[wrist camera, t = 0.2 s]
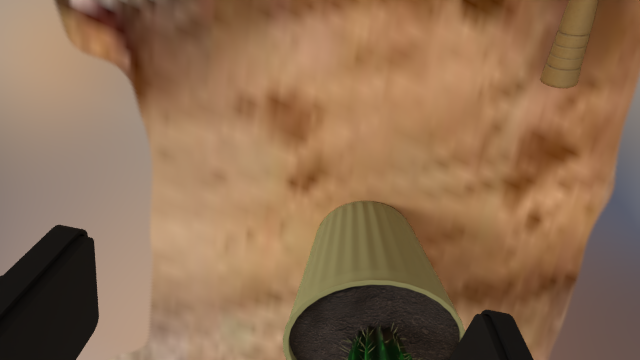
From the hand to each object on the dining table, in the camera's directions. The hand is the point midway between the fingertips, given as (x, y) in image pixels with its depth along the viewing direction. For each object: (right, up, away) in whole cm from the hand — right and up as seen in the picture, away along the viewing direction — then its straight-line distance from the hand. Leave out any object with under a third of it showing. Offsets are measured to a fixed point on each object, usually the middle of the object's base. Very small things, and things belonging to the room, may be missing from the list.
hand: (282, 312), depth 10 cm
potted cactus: (+6, -4, +37) cm, 38 cm away
